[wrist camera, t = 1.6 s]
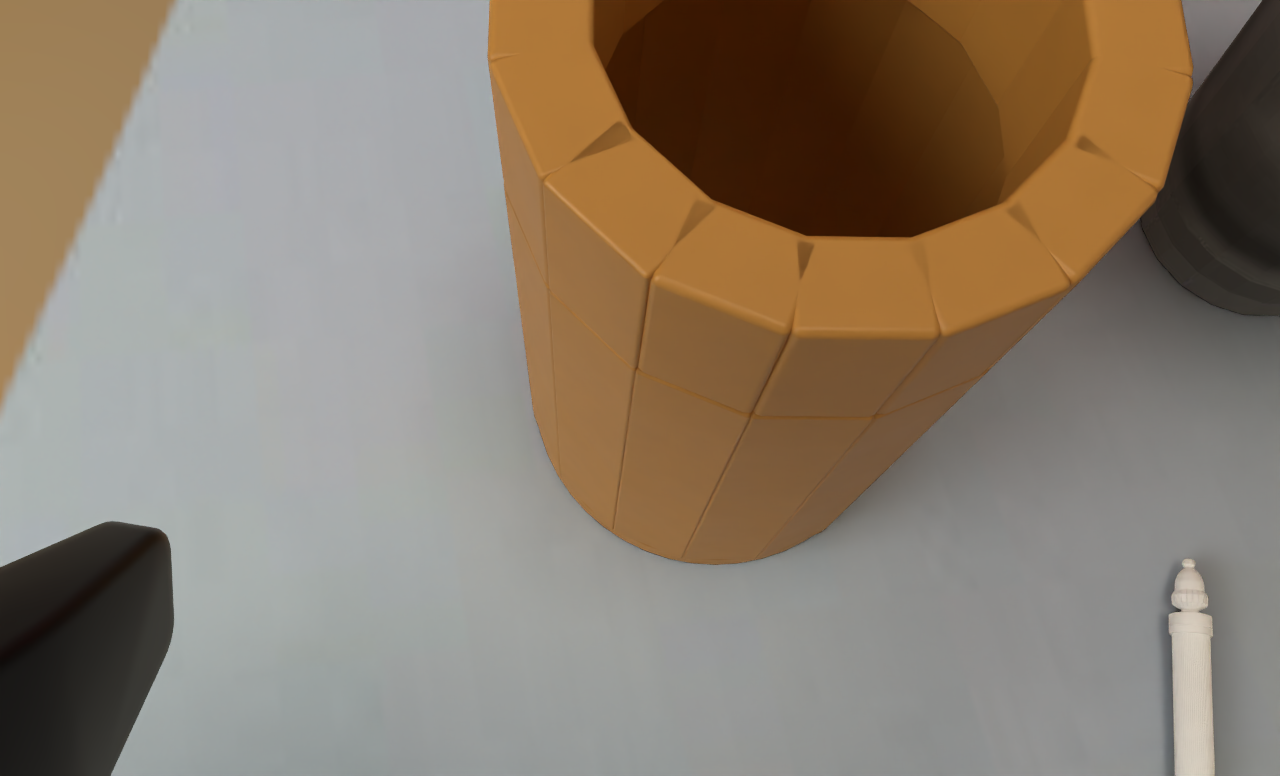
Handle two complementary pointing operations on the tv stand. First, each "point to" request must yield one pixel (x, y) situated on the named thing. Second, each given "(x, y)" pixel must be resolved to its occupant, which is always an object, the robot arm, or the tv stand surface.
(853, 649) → the tv stand surface
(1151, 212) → the beverage cup
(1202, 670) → the picture light
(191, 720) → the tv stand surface
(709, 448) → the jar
